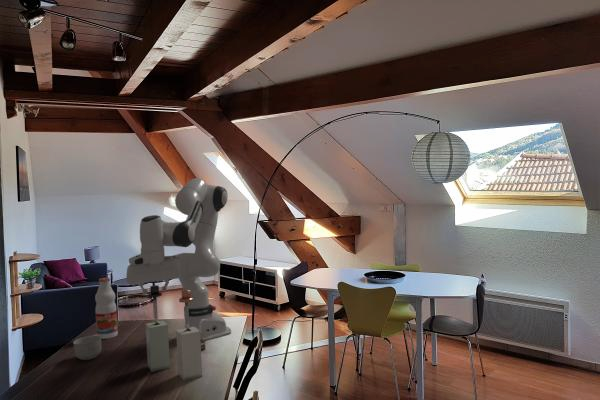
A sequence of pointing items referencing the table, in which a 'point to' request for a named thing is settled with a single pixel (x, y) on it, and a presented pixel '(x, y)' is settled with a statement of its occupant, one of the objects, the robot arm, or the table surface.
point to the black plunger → (155, 300)
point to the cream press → (189, 353)
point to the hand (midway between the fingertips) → (154, 292)
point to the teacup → (87, 347)
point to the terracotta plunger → (186, 305)
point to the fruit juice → (106, 310)
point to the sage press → (157, 346)
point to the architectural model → (202, 341)
